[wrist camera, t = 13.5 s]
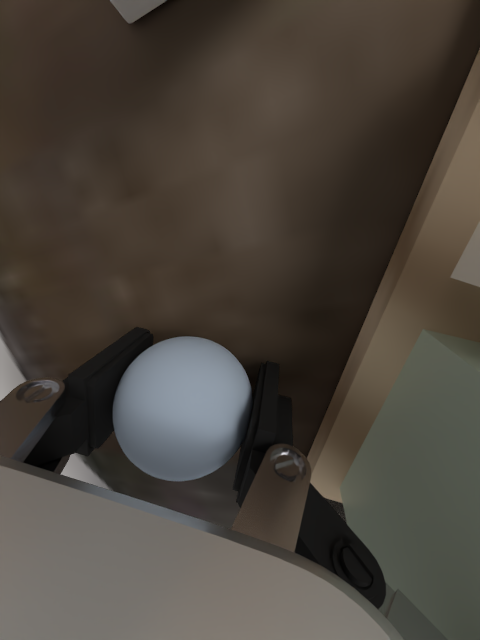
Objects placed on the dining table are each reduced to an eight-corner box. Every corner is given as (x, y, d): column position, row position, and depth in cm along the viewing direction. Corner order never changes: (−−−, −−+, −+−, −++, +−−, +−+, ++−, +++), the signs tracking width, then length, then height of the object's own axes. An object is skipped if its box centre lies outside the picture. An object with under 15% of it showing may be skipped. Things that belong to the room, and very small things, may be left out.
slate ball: (159, 305, 11) (70, 364, 7) (270, 333, 11) (260, 417, 6) (152, 395, 13) (79, 490, 8) (246, 422, 13) (224, 536, 8)
